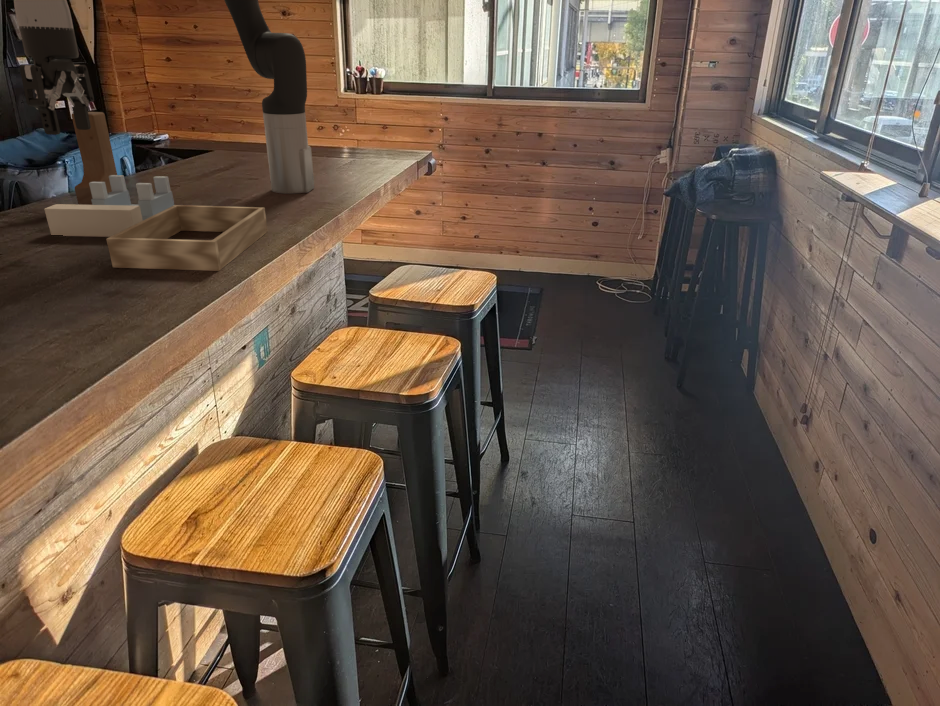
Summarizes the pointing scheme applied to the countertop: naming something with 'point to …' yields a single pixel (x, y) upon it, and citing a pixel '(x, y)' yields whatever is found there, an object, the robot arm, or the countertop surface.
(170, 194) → the rack
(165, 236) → the tray frame
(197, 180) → the countertop surface
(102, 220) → the clay strip
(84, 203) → the wooden block
